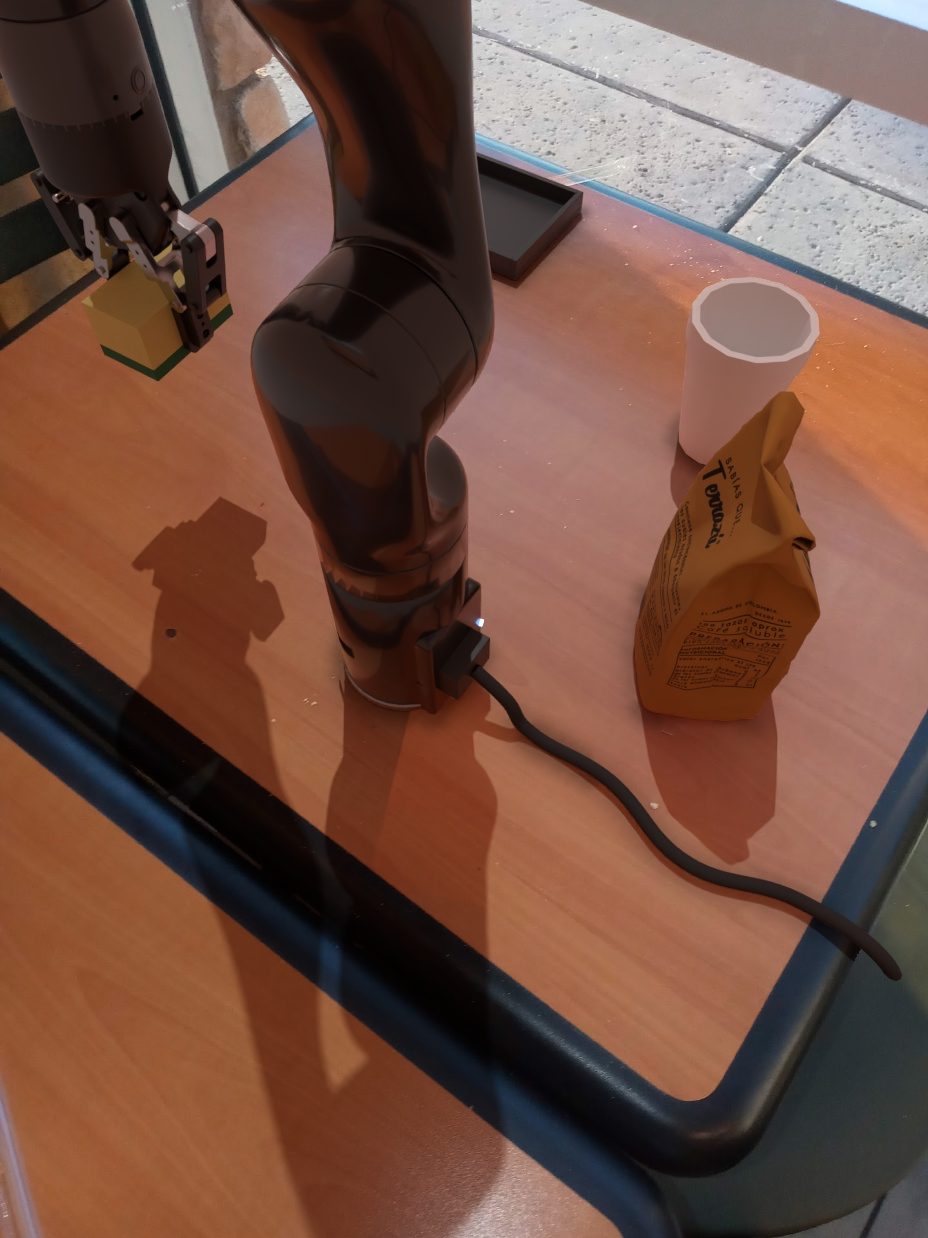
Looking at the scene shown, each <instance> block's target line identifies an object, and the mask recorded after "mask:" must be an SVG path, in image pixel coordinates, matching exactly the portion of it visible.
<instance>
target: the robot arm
mask: <svg viewBox="0 0 928 1238" xmlns="http://www.w3.org/2000/svg"><path fill="white" fill-rule="evenodd" d="M230 2H231V3H232V4H233V6H234V7H235V9H236V10H237V11H238V13H239V14H240V15H241V17H242V18H243V19H244V21H245V22H246V24H248V25H249V27H250V28H251V30H252V31H253V32H254V33H255V34H256V36H257V37H258V38H259V39H260V40H261V42H262V43H263V44H264V46H265V47H266V48H267V49H268V50H269V52H270V53H271V54H272V55H273V56H274V58H275V59H276V60H277V61H278V63H279V64H280V65H281V66H282V68H283V69H284V70H285V71H286V72H287V74H288V75H289V76H290V78H291V79H292V80H293V82H294V83H295V84H296V86H297V87H298V88H299V90H300V91H301V93H302V94H303V96H304V98H305V99H306V101H307V103H308V105H309V107H310V109H311V112H312V114H313V116H314V119H315V121H316V124H317V128H318V131H319V134H320V137H321V141H322V146H323V150H324V156H325V160H326V165H327V171H328V178H329V184H330V192H331V202H332V214H333V215H332V217H333V233H332V240H331V244H330V247H329V248H330V249H329V250H328V253H327V254H326V255H325V256H323V258H322V259H321V260H320V261H319V262H318V263H317V264H316V265H315V266H314V268H312V269H311V271H309V272H308V274H306V276H305V277H304V278H303V279H301V280H300V282H299V283H298V284H297V285H296V286H295V287H294V288H293V289H292V290H291V291H290V292H289V293H288V294H287V295H286V296H285V297H284V298H283V299H282V300H281V301H280V302H279V303H278V304H277V305H276V306H275V307H274V308H273V310H272V311H271V312H270V313H269V314H267V316H266V317H265V318H264V319H263V320H262V322H261V323H260V324H259V326H258V327H257V329H256V330H255V333H254V335H253V336H252V337H253V338H252V341H251V346H250V357H249V359H250V361H249V362H250V366H249V367H250V373H251V380H252V385H253V388H254V393H255V396H256V400H257V403H258V405H259V409H260V411H261V415H262V418H263V420H264V423H265V426H266V428H267V431H268V434H269V437H270V440H271V442H272V445H273V449H274V452H275V454H276V458H277V460H278V463H279V466H280V469H281V472H282V475H283V478H284V480H285V482H286V484H287V487H288V489H289V491H290V493H291V495H292V497H293V498H294V500H295V501H296V503H297V504H298V506H299V507H300V509H301V510H302V512H303V513H304V514H305V516H306V517H307V518H308V520H309V522H310V526H311V529H312V534H313V539H314V542H315V546H316V551H317V554H318V559H319V563H320V567H321V571H322V576H323V580H324V584H325V587H326V592H327V596H328V600H329V605H330V608H331V612H329V613H330V615H332V616H333V617H332V616H330V618H331V621H332V622H331V623H332V624H333V625H332V626H333V628H334V632H335V634H336V635H335V636H336V640H337V643H338V646H339V650H340V653H341V657H342V662H343V667H344V671H345V674H346V676H347V679H348V681H349V683H350V684H351V686H352V687H353V688H354V689H355V691H356V692H357V693H358V694H359V695H360V696H361V697H363V698H364V699H366V700H367V701H368V702H370V703H372V704H374V705H376V706H378V707H381V708H384V709H387V710H393V711H401V712H402V711H403V712H405V711H408V712H409V711H417V710H423V711H425V712H427V713H428V714H430V715H433V716H434V715H437V714H438V713H439V712H440V710H441V708H442V707H443V706H444V704H445V703H446V702H447V701H448V699H449V698H450V697H451V698H452V699H454V700H456V701H459V700H460V699H461V698H462V696H463V695H464V694H465V692H466V691H467V689H468V688H469V687H470V685H471V684H472V683H473V682H474V681H475V682H476V683H477V684H479V686H480V687H482V688H483V689H484V690H485V691H486V692H488V694H490V695H491V696H492V697H493V698H494V700H496V702H498V703H499V704H500V706H501V707H502V708H503V710H504V711H505V712H506V714H507V717H508V718H509V720H510V722H511V724H512V725H513V727H514V728H515V729H516V730H517V732H519V733H520V734H521V735H522V736H523V737H525V738H526V739H527V740H528V741H529V742H531V743H532V744H533V745H535V746H536V747H538V748H539V749H540V750H542V751H544V752H546V753H547V754H549V755H552V756H553V757H555V758H557V759H559V760H561V761H563V762H564V763H567V764H568V765H571V766H573V767H575V768H576V769H578V770H580V771H582V772H584V773H585V774H587V775H588V776H590V777H591V778H593V779H594V780H596V781H597V782H599V783H600V784H601V785H602V786H604V787H605V788H606V789H607V790H608V791H610V793H612V794H613V796H614V797H615V798H616V799H617V800H618V801H619V802H620V803H621V804H622V806H623V807H624V808H625V810H626V811H627V812H628V813H629V815H630V816H631V817H632V819H633V820H634V822H635V823H636V824H637V826H638V827H639V828H640V829H641V831H642V832H643V834H644V835H645V836H646V838H647V839H648V840H649V841H650V842H651V844H652V845H653V847H655V848H656V849H657V850H658V851H659V852H660V853H661V855H663V856H664V857H665V858H666V859H667V860H669V861H670V863H672V864H674V865H675V866H676V867H678V868H679V869H680V870H682V871H684V872H686V873H687V874H689V875H691V876H693V877H695V878H697V879H698V880H701V881H704V882H706V883H708V884H712V885H714V886H718V887H722V888H725V889H729V890H734V891H740V892H744V893H749V894H754V895H758V896H763V897H765V898H766V897H767V898H769V899H773V900H777V901H778V902H782V903H784V904H786V905H788V906H790V907H793V908H795V909H797V910H799V911H801V912H802V913H805V914H806V915H809V916H810V917H812V918H814V919H816V920H818V921H819V922H821V923H823V924H825V925H826V926H827V927H829V928H831V929H832V930H834V931H836V932H838V934H840V935H842V936H843V937H844V938H846V939H848V940H849V941H850V942H852V943H853V944H854V945H855V946H857V947H858V948H859V949H860V950H861V951H863V952H864V953H865V954H866V956H868V957H869V958H870V959H871V960H872V962H874V963H875V964H876V965H877V967H878V968H879V969H880V970H881V972H882V973H883V974H884V975H885V977H887V979H889V980H891V981H894V982H898V981H901V980H902V977H903V974H902V971H901V968H900V965H898V963H897V961H896V960H895V959H894V957H893V956H892V955H891V954H890V953H889V952H888V951H887V949H886V948H885V947H884V946H883V945H882V944H881V943H879V942H878V941H877V940H876V938H874V937H873V936H872V935H870V934H869V933H868V932H867V931H865V930H864V929H863V928H861V926H859V925H857V924H856V923H854V921H851V920H850V919H848V918H847V917H845V916H844V915H842V914H840V913H839V912H837V911H836V910H834V909H832V908H830V907H828V906H827V905H825V904H823V903H821V902H819V901H818V900H816V899H814V898H812V897H810V896H808V895H807V894H805V893H803V892H801V891H798V890H795V889H793V888H791V887H789V886H786V885H784V884H781V883H777V882H775V881H772V880H766V879H763V878H758V877H755V876H754V877H753V876H748V875H744V874H738V873H733V872H729V871H725V870H722V869H719V868H715V867H713V866H711V865H708V864H706V863H704V862H702V861H699V860H697V859H696V858H694V857H692V856H691V855H689V854H688V853H687V852H685V851H683V850H682V849H681V848H680V847H678V846H677V845H676V844H675V843H674V842H673V841H672V840H671V839H670V838H669V837H668V836H667V835H666V834H665V833H664V832H663V830H661V828H660V827H659V826H658V824H657V823H656V821H654V819H653V818H652V817H651V815H650V814H649V812H648V811H647V809H645V807H644V805H643V804H642V803H641V802H640V800H639V799H638V798H637V796H636V795H634V793H633V792H632V791H631V790H630V788H629V787H628V786H627V785H625V784H624V782H623V781H621V780H620V779H619V778H618V777H617V776H616V775H615V774H614V773H613V772H611V771H610V770H608V769H607V768H605V767H604V766H602V764H600V763H598V762H597V761H595V760H593V758H590V757H589V756H586V755H585V754H583V753H581V752H579V751H576V750H574V749H573V748H572V747H571V748H570V747H569V746H568V745H565V744H563V743H561V742H559V741H557V740H555V739H554V738H552V737H550V736H548V735H547V734H545V733H544V732H543V731H541V730H540V729H539V728H537V727H536V726H535V725H534V724H533V723H532V722H530V720H528V719H527V717H526V716H525V715H524V713H523V711H522V709H521V706H520V704H519V702H518V701H517V700H516V698H514V696H513V695H512V694H511V693H510V691H509V690H508V689H507V688H506V687H505V686H504V685H503V684H502V683H500V682H499V681H498V680H497V679H496V678H495V677H494V676H492V674H490V673H489V672H488V671H487V670H486V669H485V668H484V667H485V665H486V664H487V663H488V661H489V660H490V652H491V651H490V650H491V638H490V637H489V636H487V635H485V634H484V633H483V632H481V631H482V630H481V629H482V627H483V625H484V621H485V619H483V618H482V584H481V582H479V581H478V580H476V579H474V578H472V577H471V576H469V502H470V501H469V500H470V499H469V497H470V496H469V495H470V494H469V482H468V476H467V472H466V469H465V466H464V464H463V461H462V460H461V458H460V456H459V455H458V453H457V452H456V451H455V450H454V448H453V447H452V446H451V445H450V444H449V443H448V442H446V441H445V440H444V439H443V438H441V437H440V436H439V435H437V434H438V433H439V432H440V430H441V429H442V428H443V427H444V425H445V424H446V422H448V420H449V419H450V417H451V416H452V415H453V413H455V411H456V409H457V408H458V406H459V405H460V404H461V403H462V401H464V398H465V397H466V396H467V394H468V393H469V392H470V391H471V389H472V387H473V386H474V385H475V383H476V382H477V381H478V379H479V378H480V376H481V375H482V373H483V371H484V369H485V367H486V364H487V362H488V359H489V357H490V354H491V351H492V349H493V348H492V347H493V343H494V338H495V327H496V325H495V324H496V314H495V313H496V312H495V297H494V287H493V285H494V284H493V277H492V271H491V267H490V260H489V252H488V244H487V236H486V229H485V221H484V213H483V206H482V198H481V190H480V183H479V174H478V165H477V155H476V152H477V145H476V132H475V107H474V106H475V105H474V103H475V102H474V41H473V39H474V38H473V37H474V36H473V10H472V9H473V8H472V6H473V5H472V0H230ZM150 65H151V64H150V62H149V57H148V55H147V51H146V48H145V45H144V41H143V37H142V34H141V31H140V27H139V25H138V21H137V19H136V17H135V14H134V12H133V9H132V7H131V5H130V3H129V0H0V75H1V77H2V80H3V82H4V84H5V86H6V89H7V91H8V94H9V96H10V99H11V101H12V104H13V105H14V108H15V110H16V113H17V115H18V117H19V120H20V122H21V124H22V126H23V129H24V131H25V135H26V137H27V139H28V141H29V144H30V146H31V148H32V150H33V153H34V155H35V157H36V158H35V159H36V161H37V162H38V165H39V167H38V168H37V169H36V170H34V171H32V172H31V173H30V175H29V177H30V180H31V182H32V184H33V185H34V187H35V189H36V192H37V193H38V194H39V196H40V198H41V200H42V201H43V203H44V206H46V209H47V211H48V212H49V213H50V215H51V217H52V219H53V221H54V222H55V224H56V226H57V227H58V229H59V231H60V233H61V234H62V236H63V238H64V239H65V241H66V243H67V246H68V247H69V249H70V250H71V252H72V253H73V255H74V256H75V257H76V258H77V259H78V260H79V261H81V262H85V261H86V260H88V259H89V260H90V261H92V262H93V267H94V269H95V271H96V272H97V273H98V275H100V276H101V277H102V278H104V279H106V282H107V281H108V280H109V279H110V278H112V277H113V276H114V275H115V274H117V273H118V272H119V271H120V270H122V269H123V268H124V267H126V266H127V265H128V264H129V263H131V262H132V260H134V259H135V260H136V261H137V263H138V265H139V266H140V268H141V270H142V271H143V273H144V275H145V276H146V278H147V279H148V280H149V281H155V282H157V283H158V285H159V286H160V288H161V290H162V291H163V293H164V295H165V296H166V298H167V300H168V301H169V303H170V305H171V306H172V308H171V311H172V313H173V316H174V319H175V322H176V325H177V328H178V331H179V334H180V337H181V340H182V343H183V346H184V348H185V349H186V350H188V351H191V353H193V354H196V353H198V352H199V351H200V350H201V349H202V348H203V347H205V346H206V345H207V344H208V343H209V342H210V341H211V340H212V339H213V337H214V335H215V331H214V330H213V327H212V323H211V320H210V317H209V313H208V310H207V308H208V307H209V306H211V305H212V304H213V303H214V302H215V301H216V300H217V299H219V298H221V297H222V296H223V295H224V294H225V293H226V292H228V288H227V273H226V272H227V271H226V255H225V236H224V228H223V227H222V225H221V224H220V222H219V221H218V220H216V219H215V218H213V217H207V219H205V220H204V221H203V222H202V223H201V222H199V221H198V220H196V219H195V218H193V217H192V216H190V215H188V214H187V213H186V212H184V209H183V205H182V203H181V200H180V199H179V197H178V196H177V194H176V192H175V191H174V189H173V187H172V185H171V183H170V181H169V174H170V173H169V172H170V166H171V162H172V159H173V150H174V149H173V142H172V139H171V134H170V132H169V128H168V124H167V122H166V117H165V113H164V111H163V107H162V103H161V99H160V97H159V93H158V90H157V87H156V82H155V80H154V79H155V78H154V76H153V72H152V69H151V66H150ZM80 219H81V220H82V224H83V232H84V235H81V234H80V232H79V230H78V229H77V227H76V223H77V221H78V220H80ZM171 243H172V249H171V251H170V252H169V253H168V254H167V255H166V256H164V257H163V258H162V259H161V260H159V261H158V262H156V260H155V259H154V257H155V256H157V255H159V254H160V253H161V252H162V251H164V250H165V249H166V248H167V247H169V246H170V244H171ZM179 269H180V270H181V272H182V274H183V276H184V279H185V284H183V285H182V286H181V287H180V288H178V286H177V284H176V282H175V281H174V278H173V276H174V274H175V273H176V272H177V271H178V270H179Z"/></svg>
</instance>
